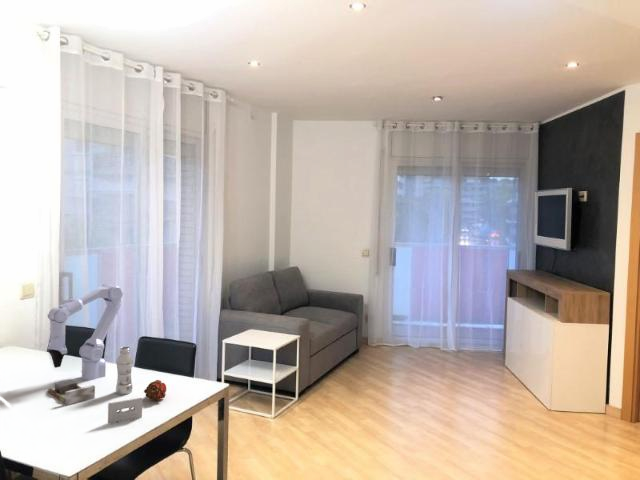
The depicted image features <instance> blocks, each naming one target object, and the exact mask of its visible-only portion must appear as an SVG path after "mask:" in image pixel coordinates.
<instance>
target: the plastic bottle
mask: <svg viewBox="0 0 640 480" xmlns="http://www.w3.org/2000/svg"><path fill="white" fill-rule="evenodd" d="M119 349H120V350H119V356H117V358H116V368H117V369H116V371H117V379H116V386H115V392H116V394H117V396H118V395H119V396H125V395H128V394H130V393H132V392H133V382H132V367H133V361H134V360H133V357H132V355H131V354H130V347H129V346H123V347H120V348H119Z"/></svg>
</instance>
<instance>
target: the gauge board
mask: <svg viewBox="0 0 640 480" xmlns="http://www.w3.org/2000/svg"><path fill="white" fill-rule="evenodd" d="M95 390H96V386H95V385H94V384H91V385H88V386H79V384H77V389H74V390H70V391H66V392H65V394H62V395H60V394H58V393H57V392H55V389H53V388H48V389H47V391H46V393H48V394H49V395H51V396H52V397H54V398H55V399H57V400H58V401H59V402H61V403H62V404H64V405H65V406H71V405H73V404H77V403H82V402H86V401H89V400H93V399H96V397H95V395H96V394H95V393H96V391H95Z"/></svg>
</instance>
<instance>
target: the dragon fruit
mask: <svg viewBox="0 0 640 480" xmlns="http://www.w3.org/2000/svg"><path fill="white" fill-rule="evenodd" d="M166 392H167V385H166V383H164V382H162V381H161V380H160V379H156V380H154V381H151V382H150V383H148V386H147V387H146V388H145V389H144V390H143V393H145V397H146V398H147V399H149V400H152V401H154V402H158V401H159V400H160V399H161V400H162V399H164V398H165V397H166Z"/></svg>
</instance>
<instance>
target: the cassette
mask: <svg viewBox="0 0 640 480" xmlns="http://www.w3.org/2000/svg"><path fill="white" fill-rule="evenodd" d="M124 409H127V410H124ZM142 417H143V398H142V397H135V398H130V399H125V400H119V401H112V402H108V404H107V423H108V425H111V424H119V423H122V422H123V423H125V422H128V421H129V422H130V421H133V420H139V419H142Z"/></svg>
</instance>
